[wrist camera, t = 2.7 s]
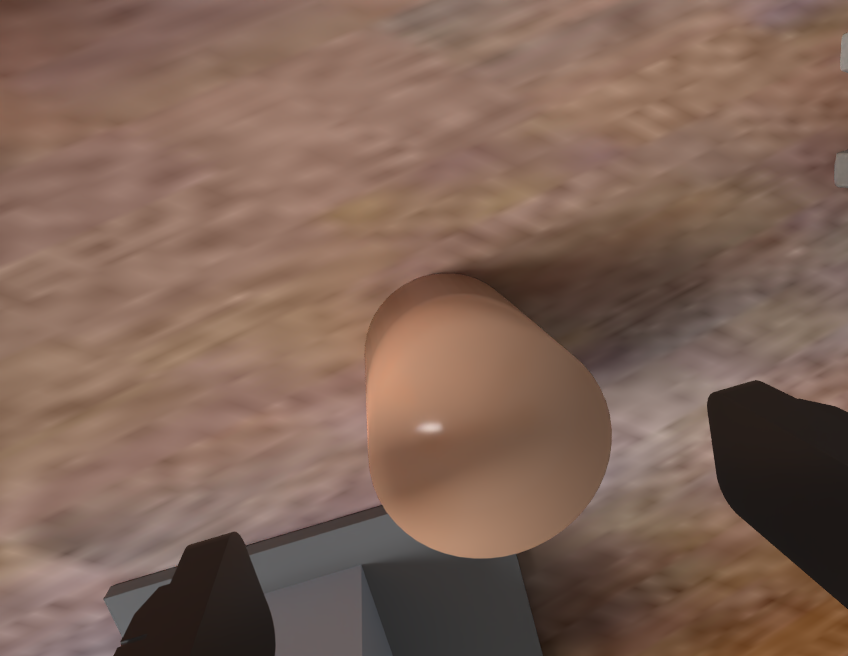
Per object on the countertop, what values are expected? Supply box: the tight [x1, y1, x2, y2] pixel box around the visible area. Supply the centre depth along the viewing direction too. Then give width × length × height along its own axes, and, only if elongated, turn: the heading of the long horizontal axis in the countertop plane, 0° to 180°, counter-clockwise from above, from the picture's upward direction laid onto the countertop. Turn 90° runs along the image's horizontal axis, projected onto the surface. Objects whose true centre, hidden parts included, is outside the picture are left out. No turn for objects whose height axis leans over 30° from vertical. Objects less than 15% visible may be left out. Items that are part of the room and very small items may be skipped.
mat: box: [104, 505, 543, 656], centre depth 21 cm, size 13×9×1 cm
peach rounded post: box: [365, 273, 612, 558], centre depth 16 cm, size 5×5×7 cm
